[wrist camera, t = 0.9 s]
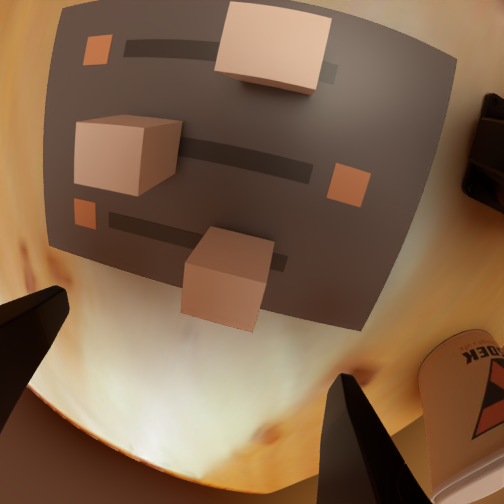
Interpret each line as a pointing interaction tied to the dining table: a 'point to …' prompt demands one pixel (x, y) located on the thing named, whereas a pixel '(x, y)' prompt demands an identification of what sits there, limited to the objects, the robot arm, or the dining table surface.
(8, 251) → the dining table surface
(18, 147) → the dining table surface
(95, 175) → the slider
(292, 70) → the slider
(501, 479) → the coffee cup
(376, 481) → the robot arm
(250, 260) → the slider
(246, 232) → the switch unit
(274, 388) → the dining table surface
